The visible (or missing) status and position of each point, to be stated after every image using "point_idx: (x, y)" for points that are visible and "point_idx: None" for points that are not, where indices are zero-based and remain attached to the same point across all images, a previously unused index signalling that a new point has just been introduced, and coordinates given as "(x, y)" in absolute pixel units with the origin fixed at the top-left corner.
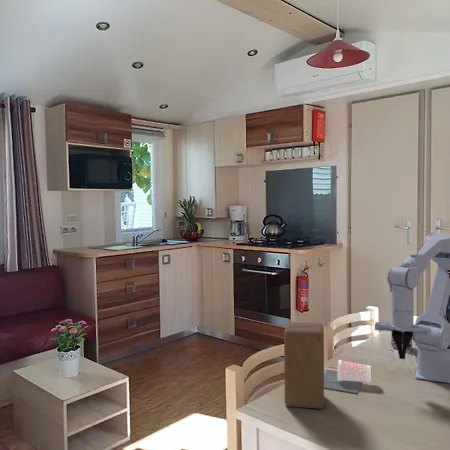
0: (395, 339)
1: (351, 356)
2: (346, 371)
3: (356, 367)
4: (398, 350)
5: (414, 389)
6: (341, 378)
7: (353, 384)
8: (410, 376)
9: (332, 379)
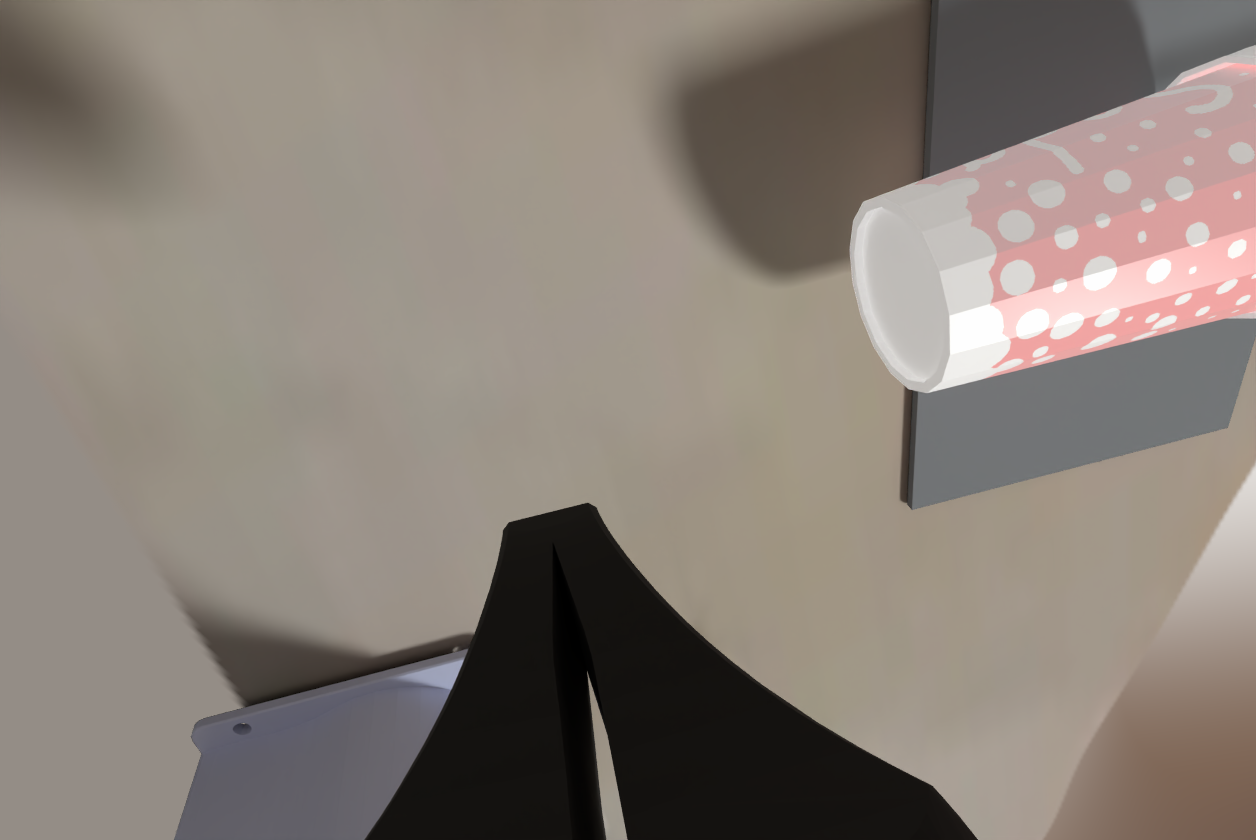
0: (800, 762)
1: (1043, 718)
2: (1201, 110)
3: (1118, 208)
4: (636, 580)
5: (415, 417)
6: (1175, 84)
7: (1002, 133)
8: None
9: None
